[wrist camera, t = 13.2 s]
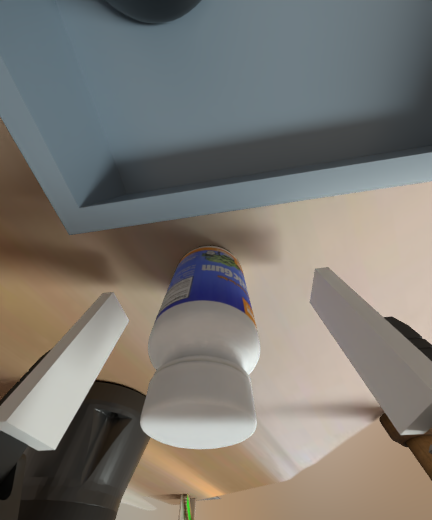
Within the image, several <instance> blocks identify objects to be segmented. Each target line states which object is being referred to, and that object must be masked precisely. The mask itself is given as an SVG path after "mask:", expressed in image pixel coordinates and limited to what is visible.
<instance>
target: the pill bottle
mask: <svg viewBox="0 0 432 520" xmlns="http://www.w3.org/2000/svg"><path fill="white" fill-rule="evenodd" d="M148 354H149V357H150V360H151V363H152V364H153V366H154V368H155V369H156V370H157V371H156V372H155V374H154V376H153V378H152V379H151V380H150V383H149V387H148V391H147V395H146V399H145V403H144V406H143V410H142V414H141V418H140V425H141V428H142V430H143V431H144V432H145V433H146V434H147V435H148V436H150V437H151V438H153V439H155V440H157V441H159V442H161V443H164V444H168V445H171V446H175V447H180V448H189V449H214V448H221V447H226V446H231V445H234V444H237V443H240V442H243V441H244V440H246V439H247V438H249V437H250V436H251V435H252V434H253V433H254V432H255V429H256V425H257V421H256V413H255V405H254V399H253V392H252V386H251V379H250V377H249V374H250V373H251V372H252V371H253V369H254V368H255V366H256V364H257V362H258V360H259V356H260V341H259V336H258V331H257V327H256V323H255V319H254V315H253V311H252V307H251V303H250V300H249V295H248V291H247V287H246V283H245V279H244V275H243V271H242V268H241V265H240V263H239V261H238V260H237V259H236V257H235V256H234V255H233V254H231V253H230V252H229V251H227V250H225V249H223V248H220V247H216V246H203V247H199V248H196V249H194V250H192V251H190V252H188V253H187V254H186V255H185V256H184V257H183V258H182V259H181V261H180V262H179V264H178V266H177V268H176V271H175V273H174V275H173V278H172V280H171V283H170V285H169V288H168V290H167V293H166V295H165V298H164V300H163V303H162V305H161V308H160V310H159V313H158V315H157V318H156V320H155V323H154V326H153V328H152V331H151V334H150V337H149V342H148Z"/></svg>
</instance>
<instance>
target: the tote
mask: <svg viewBox="0 0 432 520" xmlns="http://www.w3.org/2000/svg"><path fill="white" fill-rule="evenodd" d="M0 117H1V119H2V120H3V122H4V124H5V126H6V127H7V129H8V131H9V132H10V134H11V136H12V138H13V139H14V141H15V143H16V144H17V146H18V148H19V150H20V151H21V153H22V155H23V156H24V158H25V160H26V162H27V163H28V165H29V167H30V168H31V170H32V172H33V174H34V175H35V177H36V179H37V180H38V182H39V184H40V186H41V187H42V189H43V191H44V193H45V194H46V196H47V198H48V199H49V201H50V203H51V205H52V206H53V208H54V210H55V211H56V213H57V215H58V217H59V218H60V220H61V222H62V223H63V225H64V227H65V229H66V230H67V232H68V234H69V235H73V234H80V233H87V232H94V231H100V230H107V229H114V228H120V227H127V226H134V225H141V224H147V223H154V222H161V221H167V220H174V219H181V218H188V217H194V216H201V215H208V214H215V213H221V212H228V211H235V210H241V209H248V208H255V207H262V206H268V205H275V204H282V203H288V202H295V201H302V200H309V199H315V198H322V197H329V196H335V195H342V194H349V193H356V192H362V191H369V190H376V189H383V188H389V187H396V186H403V185H409V184H416V183H423V182H430V181H432V0H201V2H200V3H199V4H198V5H197V6H196V7H195V8H193V9H192V10H191V11H190V12H189V13H187V14H186V15H184V16H182V17H181V18H178V19H176V20H174V21H170V22H167V23H159V24H156V23H146V22H141V21H138V20H135V19H132V18H130V17H128V16H126V15H124V14H122V13H121V12H119V11H117V10H116V9H115V8H113V7H112V6H111V5H109V4H108V3H107V2H106V1H105V0H0Z"/></svg>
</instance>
